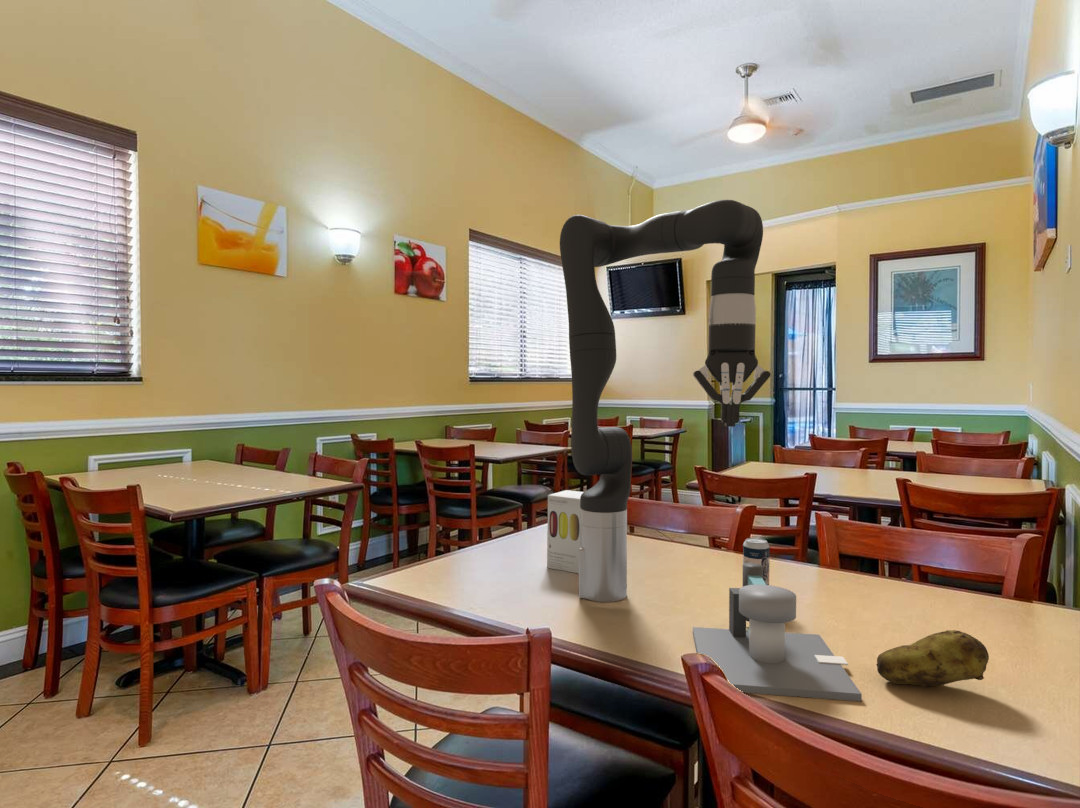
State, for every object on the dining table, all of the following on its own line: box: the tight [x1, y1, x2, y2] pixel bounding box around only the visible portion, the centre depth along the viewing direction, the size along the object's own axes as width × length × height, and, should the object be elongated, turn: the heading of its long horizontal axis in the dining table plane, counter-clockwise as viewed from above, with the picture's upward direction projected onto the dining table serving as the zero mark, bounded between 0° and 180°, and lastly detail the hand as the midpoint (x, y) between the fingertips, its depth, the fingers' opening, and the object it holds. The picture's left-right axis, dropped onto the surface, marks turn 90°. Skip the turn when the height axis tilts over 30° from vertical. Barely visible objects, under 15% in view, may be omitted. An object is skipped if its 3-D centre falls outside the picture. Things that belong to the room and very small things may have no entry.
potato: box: [876, 629, 990, 688], centre depth 86 cm, size 8×13×8 cm, turn 57°
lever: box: [739, 563, 797, 624], centre depth 98 cm, size 18×8×9 cm, turn 171°
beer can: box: [742, 537, 771, 585], centre depth 119 cm, size 5×5×12 cm
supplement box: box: [546, 489, 585, 575], centre depth 144 cm, size 10×9×17 cm
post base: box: [692, 587, 862, 702], centre depth 94 cm, size 21×21×8 cm
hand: (730, 426), depth 106 cm, fingers closed
